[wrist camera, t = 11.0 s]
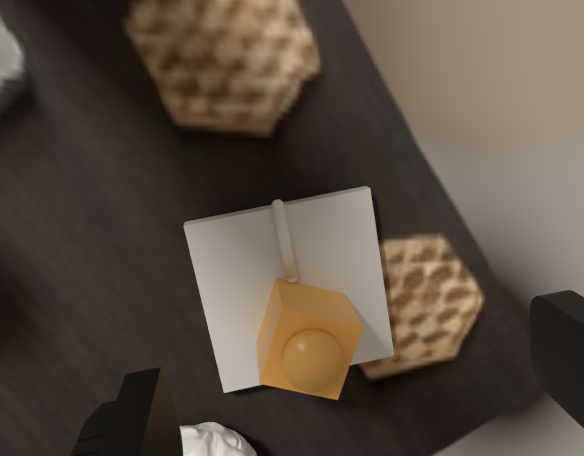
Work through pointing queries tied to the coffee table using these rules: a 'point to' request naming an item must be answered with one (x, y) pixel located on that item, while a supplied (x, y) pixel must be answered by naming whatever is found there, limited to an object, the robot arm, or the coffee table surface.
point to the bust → (213, 441)
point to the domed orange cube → (307, 339)
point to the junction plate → (287, 272)
